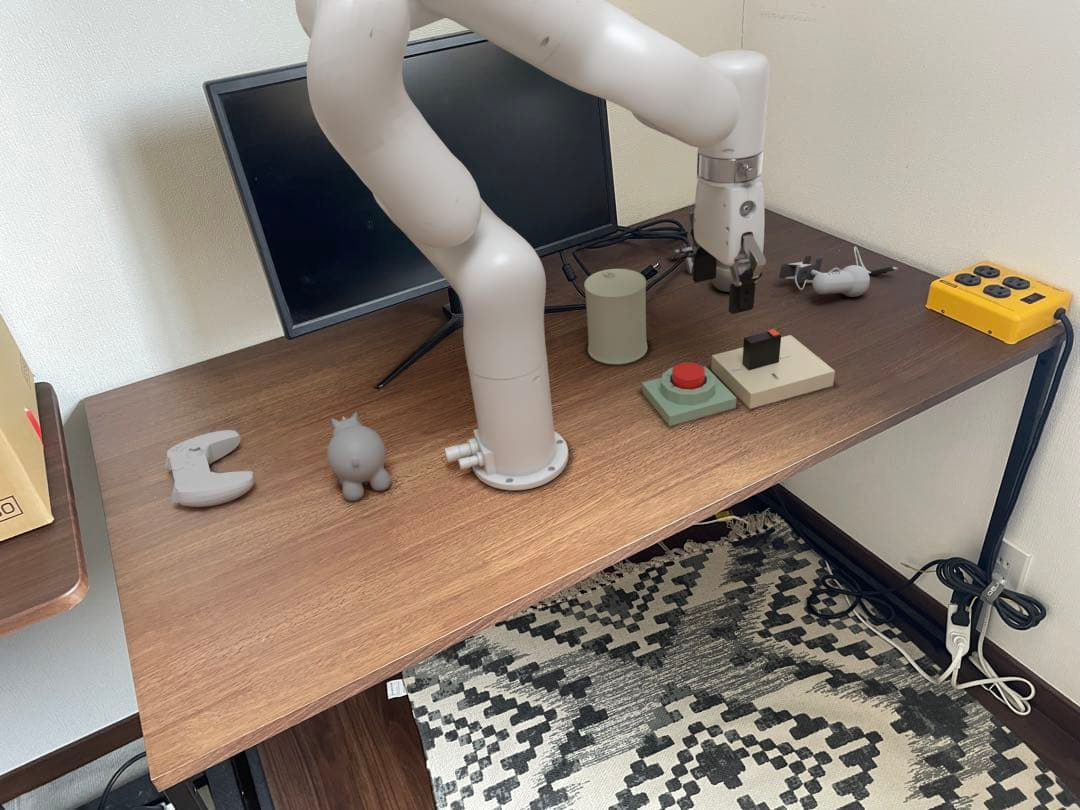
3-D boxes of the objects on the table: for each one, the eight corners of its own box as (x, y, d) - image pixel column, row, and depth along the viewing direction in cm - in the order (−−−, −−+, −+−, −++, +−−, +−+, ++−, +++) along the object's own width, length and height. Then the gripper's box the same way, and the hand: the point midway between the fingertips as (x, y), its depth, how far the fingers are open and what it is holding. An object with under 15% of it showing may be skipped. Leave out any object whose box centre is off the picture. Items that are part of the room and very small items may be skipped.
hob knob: (748, 370, 113) (750, 342, 110) (742, 364, 114) (743, 336, 111) (779, 362, 114) (781, 333, 111) (772, 356, 115) (774, 327, 112)
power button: (680, 393, 109) (681, 382, 108) (666, 377, 112) (666, 366, 111) (710, 385, 109) (710, 374, 108) (695, 369, 113) (695, 359, 112)
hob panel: (749, 409, 110) (750, 392, 108) (711, 369, 118) (711, 354, 117) (833, 385, 112) (835, 369, 111) (789, 349, 121) (790, 333, 119)
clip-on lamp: (849, 277, 144) (772, 284, 136) (857, 242, 141) (779, 246, 133) (903, 296, 134) (823, 304, 127) (912, 259, 132) (832, 265, 124)
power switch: (669, 426, 108) (669, 405, 106) (641, 392, 115) (641, 371, 113) (736, 408, 110) (737, 386, 108) (705, 375, 117) (705, 355, 115)
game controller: (257, 476, 102) (171, 492, 97) (260, 504, 104) (176, 521, 99) (236, 420, 113) (158, 432, 108) (239, 447, 115) (162, 460, 110)
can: (632, 328, 130) (631, 260, 123) (657, 355, 123) (657, 284, 116) (579, 342, 128) (574, 273, 121) (601, 370, 121) (597, 299, 114)
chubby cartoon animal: (379, 440, 111) (366, 389, 106) (398, 492, 102) (385, 439, 97) (327, 455, 109) (312, 404, 105) (341, 509, 100) (325, 456, 95)
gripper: (798, 181, 89) (783, 317, 99) (722, 140, 103) (715, 264, 113) (737, 193, 88) (728, 330, 97) (668, 150, 101) (666, 274, 111)
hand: (721, 294), depth 105 cm, fingers open, 9 cm apart
